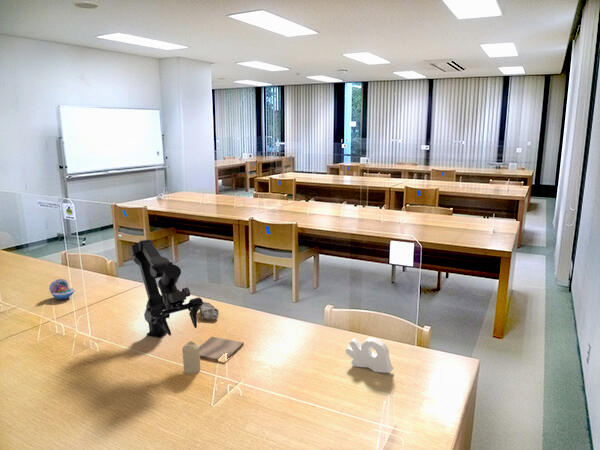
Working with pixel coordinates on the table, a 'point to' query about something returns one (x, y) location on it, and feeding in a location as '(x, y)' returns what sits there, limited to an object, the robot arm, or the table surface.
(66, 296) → the cell model
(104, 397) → the table surface
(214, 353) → the walnut slab
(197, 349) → the candle
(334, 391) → the table surface
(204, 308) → the mineral rock
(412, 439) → the table surface
